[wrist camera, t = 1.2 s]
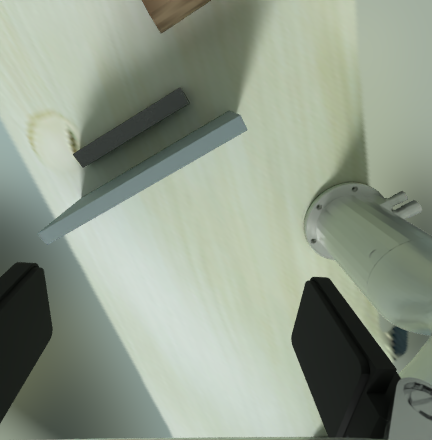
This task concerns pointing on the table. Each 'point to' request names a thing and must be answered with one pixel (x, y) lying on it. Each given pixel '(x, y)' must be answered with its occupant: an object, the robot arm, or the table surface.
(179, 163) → the wall board
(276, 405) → the table surface
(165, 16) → the walnut cabinet
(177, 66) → the table surface
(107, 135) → the rail
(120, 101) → the table surface
